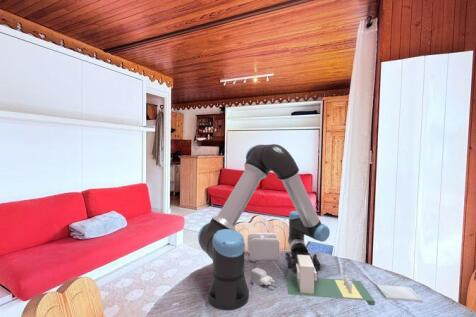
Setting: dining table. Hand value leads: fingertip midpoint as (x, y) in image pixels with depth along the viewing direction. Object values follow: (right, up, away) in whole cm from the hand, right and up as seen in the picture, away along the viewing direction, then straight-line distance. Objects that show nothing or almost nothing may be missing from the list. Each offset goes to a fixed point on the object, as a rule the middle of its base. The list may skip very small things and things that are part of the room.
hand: (307, 276), depth 87 cm
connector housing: (+1, -6, +5) cm, 8 cm away
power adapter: (-15, -8, +7) cm, 19 cm away
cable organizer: (-13, -7, +33) cm, 36 cm away
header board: (+9, -8, +4) cm, 12 cm away
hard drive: (+35, -9, +3) cm, 37 cm away
